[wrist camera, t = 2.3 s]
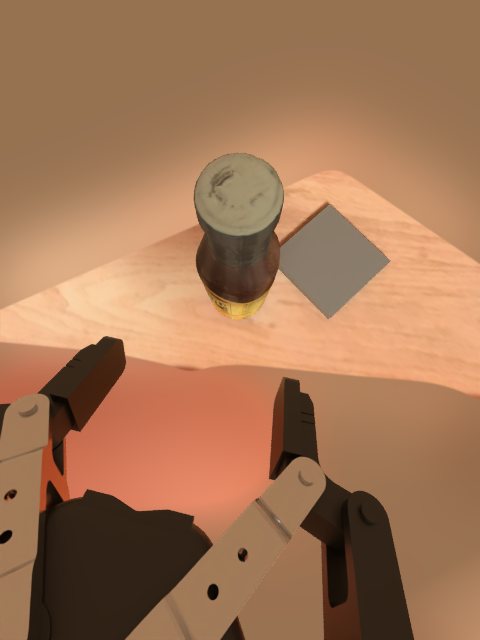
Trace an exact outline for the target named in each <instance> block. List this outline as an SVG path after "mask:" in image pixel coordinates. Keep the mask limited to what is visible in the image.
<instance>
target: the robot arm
mask: <svg viewBox="0 0 480 640" xmlns="http://www.w3.org/2000/svg"><path fill="white" fill-rule="evenodd" d="M125 365H126V359H125V352H124V346H123V341H122V340H121V339H117V338H112V337H108V336H105V337H103V338H102V339H101V340H100V341H99V342H98V343H97V344H96V345H94V344H91V345H89V346H87V347H86V348H84V349H82V350H80V351H79V352H78V353H77V354H76V355H75V356H74V357H73V359H72V360H70V361H69V362H68V363H67V364H66V367H63V368H62V369H61V370H60V372H58V373H57V374H56V375H55V376H54V377H53V378H52V379H51V380H50V381H49V382H48V383H47V384H46V385H45V386H44V387H43V389H41V390H40V391H39V392H38V393H37V394H30V395H26V396H24V397H21V398H19V399H18V400H16V401H14V402H13V403H12V404H0V640H245V637H244V634H243V631H242V628H241V625H240V622H239V619H238V614H239V612H240V611H241V609H242V608H243V607H244V605H245V603H246V602H247V601H248V599H249V598H250V597H251V595H252V594H253V592H254V591H255V590H256V588H257V587H258V585H259V584H260V582H261V581H262V580H263V578H264V577H265V575H266V574H267V572H268V571H269V569H270V568H271V567H272V565H273V564H274V563H275V561H276V560H277V558H278V557H279V555H280V554H281V552H282V551H283V549H284V548H285V547H286V545H287V544H288V542H289V541H290V539H291V537H292V536H293V534H294V533H295V531H296V530H297V529H298V527H299V526H300V527H302V528H303V529H304V530H306V531H307V532H309V533H310V534H312V535H313V536H314V537H316V538H317V539H319V540H320V541H321V549H322V584H323V615H324V616H323V618H324V640H414V637H413V633H412V628H411V623H410V618H409V614H408V609H407V604H406V599H405V595H404V590H403V585H402V580H401V576H400V571H399V566H398V562H397V557H396V552H395V548H394V542H393V538H392V533H391V528H390V523H389V519H388V516H387V513H386V511H385V510H384V507H383V506H382V505H381V503H380V502H379V501H378V500H377V499H376V498H375V497H374V496H372V495H371V494H369V493H367V492H364V491H356V492H354V493H350V492H349V491H347V490H345V489H344V488H342V487H340V486H339V485H337V484H335V483H334V482H332V481H331V480H330V479H329V478H328V477H327V476H326V475H325V473H324V472H323V470H322V469H321V467H320V464H319V461H318V453H317V441H316V430H315V419H314V418H315V417H314V406H313V403H312V401H311V399H310V397H309V395H308V394H305V393H301V392H300V383H299V380H295V379H290V378H286V377H283V379H282V381H281V384H280V387H279V389H278V392H277V395H276V398H275V402H274V409H273V426H272V440H271V456H270V457H271V458H270V472H269V479H272V480H275V481H274V482H273V483H272V484H271V485H270V486H269V488H268V489H267V490H266V491H265V492H264V493H263V494H262V495H261V496H260V498H258V499H256V500H254V501H253V502H252V503H251V504H250V505H249V506H248V507H247V509H246V510H245V511H244V512H243V513H242V514H241V515H240V516H239V517H238V518H237V520H236V521H235V522H234V523H233V524H232V525H231V526H230V527H229V528H228V529H227V531H226V532H225V533H224V534H223V535H222V536H221V537H220V538H219V540H217V542H216V543H215V544H214V545H213V544H212V542H211V540H210V539H209V537H208V536H207V535H206V534H205V532H204V531H202V530H201V529H200V528H199V527H198V526H196V525H195V524H193V523H194V516H190V515H187V514H183V513H179V512H175V511H171V510H153V511H135V510H133V509H132V508H131V507H129V506H128V505H126V504H125V503H123V502H122V501H120V500H119V499H117V498H115V497H114V496H111V495H108V494H104V493H100V492H96V491H92V490H88V489H87V491H86V492H85V494H84V496H83V497H79V498H74V499H70V493H69V488H68V483H67V456H66V435H67V434H68V432H69V431H70V430H75V431H79V432H80V431H81V430H82V429H83V427H84V426H85V424H86V423H87V422H88V420H89V419H90V417H91V416H92V415H93V413H94V412H95V411H96V409H97V408H98V406H99V405H100V404H101V402H102V401H103V400H104V398H105V397H106V395H107V394H108V393H109V391H110V390H111V388H112V387H113V386H114V384H115V383H116V381H117V380H118V379H119V377H120V376H121V375H122V373H123V371H124V369H125Z"/></svg>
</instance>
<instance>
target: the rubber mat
mask: <svg viewBox="0 0 480 640" xmlns="http://www.w3.org/2000/svg"><path fill="white" fill-rule="evenodd" d="M389 262H390V260H389V259H388V258H387V257H386V256H385V255H384V254H382V253H381V252H380V251H379V250H378V249H377V248H376V247H375V246H374V245H373V244H372V243H371V242H370V241H369V240H368V239H366V238H365V237H364V236H363V235H362V234H361V233H360V232H359V231H358V230H357V229H356V228H355V227H354V226H353V225H352V224H350V223H349V222H348V221H347V220H346V219H345V218H344V217H343V216H342V215H341V214H340V213H339V212H338V211H337V210H336V209H334V208H333V207H332V206H331V205H330V204H329V205H328V206H327V207H326V208H325V209H323V210H322V211H321V212H320V213H319V214H318V215H317V216H315V217H314V218H313V219H312V220H311V221H310V222H309V223H307V224H306V225H305V226H304V227H303V228H302V229H301V230H299V231H298V232H297V233H296V234H295V235H294V236H293V237H291V238H290V239H289V240H288V241H287V242H286V243H285V244H283V245H282V246H281V247H280V263H279V269H280V271H281V272H282V273H283V274H284V275H285V276H286V277H287V278H288V279H289V280H290V281H291V282H292V283H293V284H294V285H295V286H296V287H297V288H298V289H299V290H300V291H301V292H302V293H303V294H304V295H305V296H306V297H307V298H308V299H309V300H310V301H311V302H312V303H313V304H314V305H315V306H316V307H317V308H318V309H319V310H320V311H321V312H322V313H323V314H324V315H325V316H326V317H327V318H328V319H329V318H331V317H332V316H333V315H334V314H335V313H336V312H337V311H338V310H339V309H340V308H342V307H343V306H344V305H345V304H346V303H347V302H348V301H349V300H350V299H351V298H352V297H353V296H354V295H355V294H356V293H357V292H358V291H360V290H361V289H362V288H363V287H364V286H365V285H366V284H367V283H368V282H369V281H370V280H371V279H372V278H373V277H374V276H375V275H376V274H378V273H379V272H380V271H381V270H382V269H383V268H384V267H385V266H386V265H387V264H388V263H389Z"/></svg>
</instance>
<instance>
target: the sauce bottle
mask: <svg viewBox="0 0 480 640" xmlns="http://www.w3.org/2000/svg"><path fill="white" fill-rule="evenodd" d="M283 200H284V191H283V186H282V183H281V181H280V179H279V177H278V175H277V172H276V171H275V170H274V168H273V167H272V166H271V165H270V164H269V163H267V162H266V161H264V160H262V159H260V158H257V157H255V156H253V155H250V154H246V153H233V154H227V155H223V156H221V157H219V158H217V159H215V160H213V161H212V162H211V163H209V164H208V165H207V166H206V167H205V169H204V170H203V171H202V173H201V174H200V176H199V178H198V180H197V182H196V185H195V190H194V204H195V208H196V214H197V218H198V221H199V224H200V226H201V228H202V229H203V230H204V232H205V234H204V237H203V239H202V241H201V243H200V245H199V248H198V250H197V254H196V267H197V271H198V273H199V276H200V278H201V280H202V282H203V284H204V286H205V289H206V291H207V293H208V295H209V297H210V299H211V301H212V303H213V305H214V306H215V308H216V309H217V310H218V311H219V312H220V313H221V314H223V315H224V316H226V317H228V318H232V319H245V318H247V317H250V316H252V315H254V314H255V313H256V312H257V311H258V310H259V309H260V307H261V306H262V304H263V302H264V300H265V298H266V296H267V294H268V292H269V290H270V288H271V286H272V284H273V282H274V279H275V276H276V273H277V270H278V268H279V263H280V247H279V241H278V237H277V235H276V234H275V232H274V229H275V228H276V226H277V224H278V222H279V219H280V215H281V211H282V207H283Z"/></svg>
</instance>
